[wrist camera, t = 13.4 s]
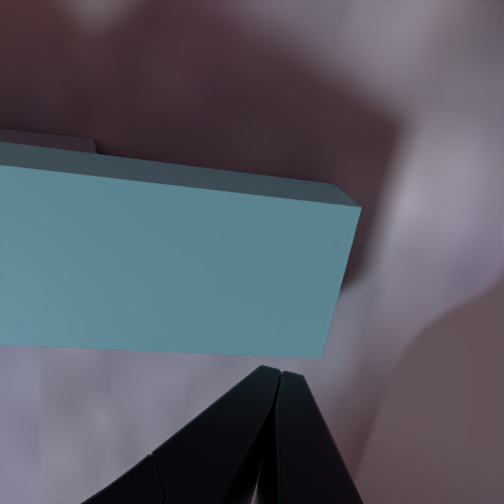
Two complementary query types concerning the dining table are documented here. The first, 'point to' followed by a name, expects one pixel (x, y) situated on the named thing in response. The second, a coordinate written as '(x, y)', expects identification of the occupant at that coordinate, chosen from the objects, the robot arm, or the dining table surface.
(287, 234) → the domino
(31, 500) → the dining table surface
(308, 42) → the dining table surface
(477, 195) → the dining table surface
